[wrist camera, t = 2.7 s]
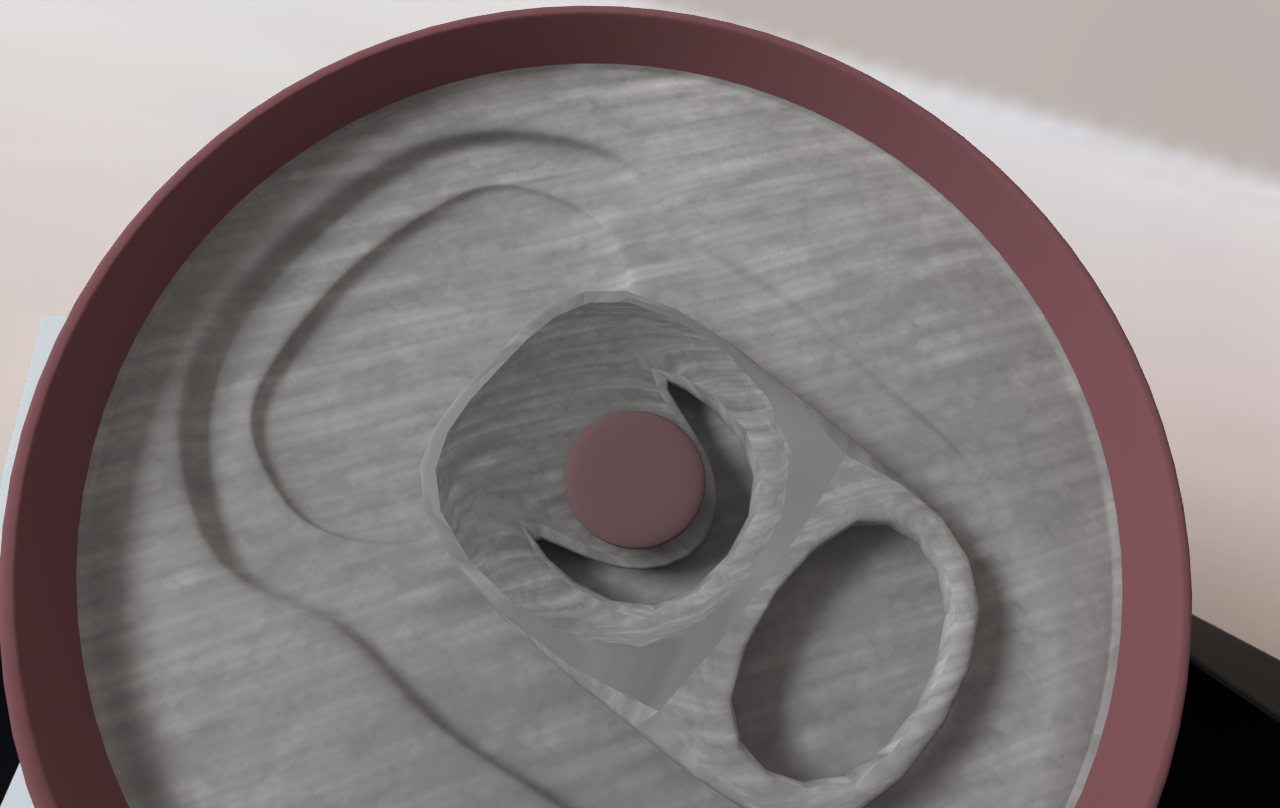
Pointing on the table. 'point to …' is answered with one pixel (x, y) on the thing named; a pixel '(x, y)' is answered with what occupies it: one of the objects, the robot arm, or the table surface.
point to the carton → (17, 797)
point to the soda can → (593, 455)
